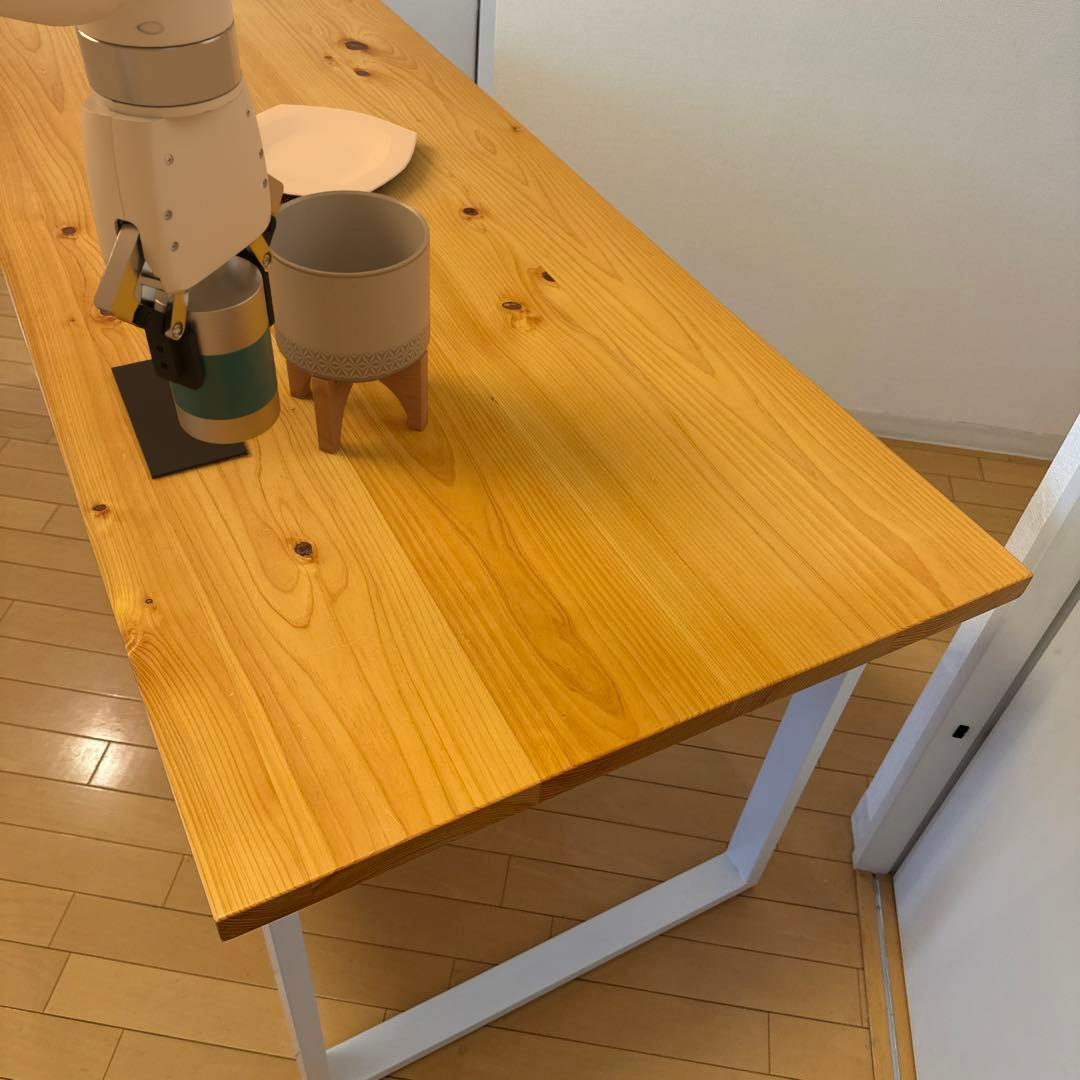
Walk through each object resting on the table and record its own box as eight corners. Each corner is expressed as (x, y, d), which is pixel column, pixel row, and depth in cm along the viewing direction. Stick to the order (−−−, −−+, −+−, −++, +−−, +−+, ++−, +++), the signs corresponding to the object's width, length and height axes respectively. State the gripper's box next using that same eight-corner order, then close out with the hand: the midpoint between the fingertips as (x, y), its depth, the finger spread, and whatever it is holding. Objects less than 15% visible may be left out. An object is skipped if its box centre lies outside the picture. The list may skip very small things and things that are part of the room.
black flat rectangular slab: (248, 454, 86) (247, 451, 86) (152, 479, 83) (151, 476, 83) (199, 351, 95) (198, 348, 95) (111, 370, 93) (110, 367, 92)
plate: (182, 185, 117) (179, 169, 116) (275, 108, 133) (273, 93, 131) (366, 227, 114) (365, 210, 112) (439, 143, 129) (439, 128, 128)
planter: (326, 352, 97) (309, 177, 84) (451, 386, 95) (454, 210, 82) (259, 432, 88) (229, 250, 75) (395, 471, 86) (389, 290, 73)
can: (156, 424, 66) (122, 291, 59) (218, 370, 70) (194, 241, 63) (242, 456, 64) (218, 324, 57) (300, 400, 69) (284, 270, 62)
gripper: (206, -6, 57) (248, 270, 70) (-28, 101, 46) (73, 407, 59) (320, 22, 56) (341, 300, 69) (105, 141, 44) (180, 448, 57)
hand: (217, 348), depth 64 cm, fingers closed on can, 6 cm apart
